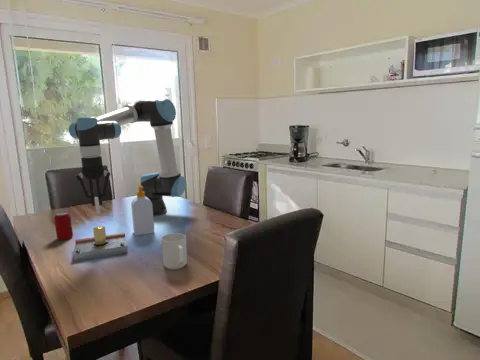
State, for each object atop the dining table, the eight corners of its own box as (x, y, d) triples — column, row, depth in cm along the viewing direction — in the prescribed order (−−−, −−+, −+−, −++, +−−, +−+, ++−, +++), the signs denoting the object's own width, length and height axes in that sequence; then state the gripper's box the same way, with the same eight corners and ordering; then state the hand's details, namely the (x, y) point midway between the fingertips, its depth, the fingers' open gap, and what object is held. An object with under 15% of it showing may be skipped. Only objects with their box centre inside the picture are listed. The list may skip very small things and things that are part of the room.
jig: (125, 241, 150) (124, 232, 149) (127, 252, 137) (126, 243, 136) (76, 248, 142) (75, 239, 142) (74, 261, 130) (72, 251, 129)
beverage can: (76, 236, 158) (73, 211, 155) (64, 241, 151) (61, 216, 149) (65, 234, 160) (62, 210, 158) (53, 239, 154) (50, 214, 151)
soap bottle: (152, 228, 166) (148, 183, 162) (154, 232, 160) (150, 186, 155) (133, 231, 163) (129, 185, 158) (135, 235, 156) (130, 188, 152)
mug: (160, 263, 126) (158, 236, 123) (182, 258, 130) (180, 231, 128) (170, 276, 115) (168, 246, 113) (194, 269, 120) (192, 240, 118)
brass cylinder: (107, 247, 143) (104, 225, 141) (107, 251, 138) (104, 228, 137) (95, 249, 141) (93, 227, 139) (95, 253, 137) (93, 230, 135)
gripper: (108, 154, 138) (114, 208, 143) (73, 156, 133) (81, 212, 138) (108, 156, 131) (115, 213, 136) (72, 158, 126) (80, 217, 131)
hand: (98, 212), depth 137 cm, fingers closed
